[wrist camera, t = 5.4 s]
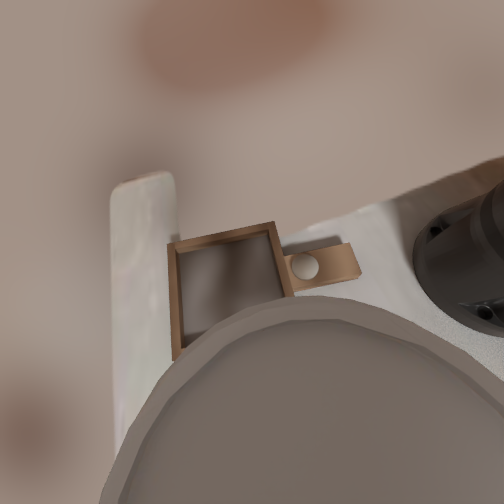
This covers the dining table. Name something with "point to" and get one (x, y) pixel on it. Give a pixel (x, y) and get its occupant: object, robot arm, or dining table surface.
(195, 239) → the tray
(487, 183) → the dining table surface
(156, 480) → the disposable coffee cup
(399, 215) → the dining table surface
